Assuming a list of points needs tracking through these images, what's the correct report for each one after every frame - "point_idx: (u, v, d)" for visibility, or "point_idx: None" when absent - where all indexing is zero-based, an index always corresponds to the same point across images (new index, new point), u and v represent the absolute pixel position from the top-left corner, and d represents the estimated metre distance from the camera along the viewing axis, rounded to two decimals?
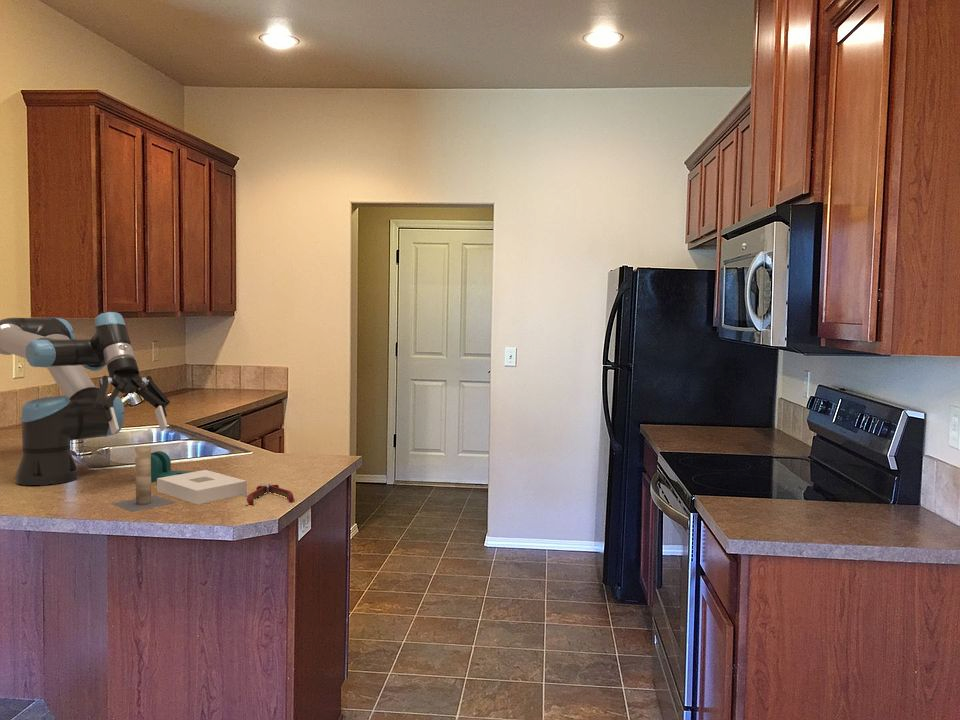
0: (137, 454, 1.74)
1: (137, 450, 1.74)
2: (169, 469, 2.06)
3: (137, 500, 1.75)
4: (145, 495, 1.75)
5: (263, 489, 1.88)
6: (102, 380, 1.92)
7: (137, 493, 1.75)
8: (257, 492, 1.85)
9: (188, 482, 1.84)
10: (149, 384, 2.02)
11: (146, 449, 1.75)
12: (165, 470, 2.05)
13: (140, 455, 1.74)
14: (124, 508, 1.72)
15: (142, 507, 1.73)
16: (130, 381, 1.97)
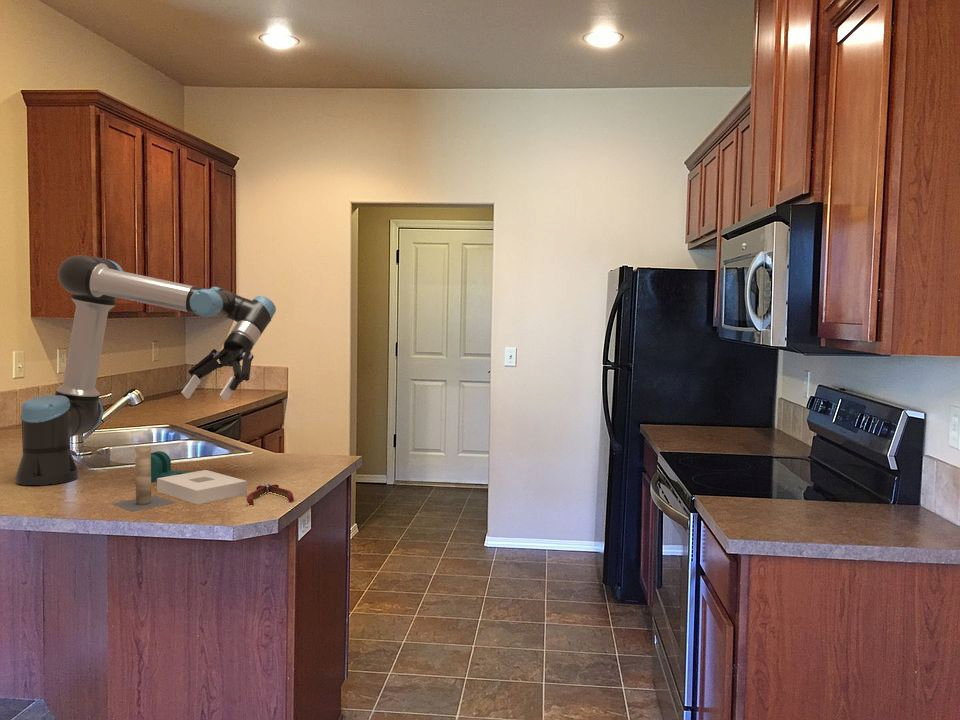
0: (137, 454, 1.74)
1: (137, 450, 1.74)
2: (169, 469, 2.06)
3: (137, 500, 1.75)
4: (145, 495, 1.75)
5: (263, 489, 1.89)
6: (251, 357, 2.00)
7: (137, 493, 1.75)
8: (257, 492, 1.85)
9: (188, 482, 1.84)
10: None
11: (146, 449, 1.75)
12: (165, 470, 2.05)
13: (140, 455, 1.74)
14: (124, 508, 1.72)
15: (142, 507, 1.73)
16: None
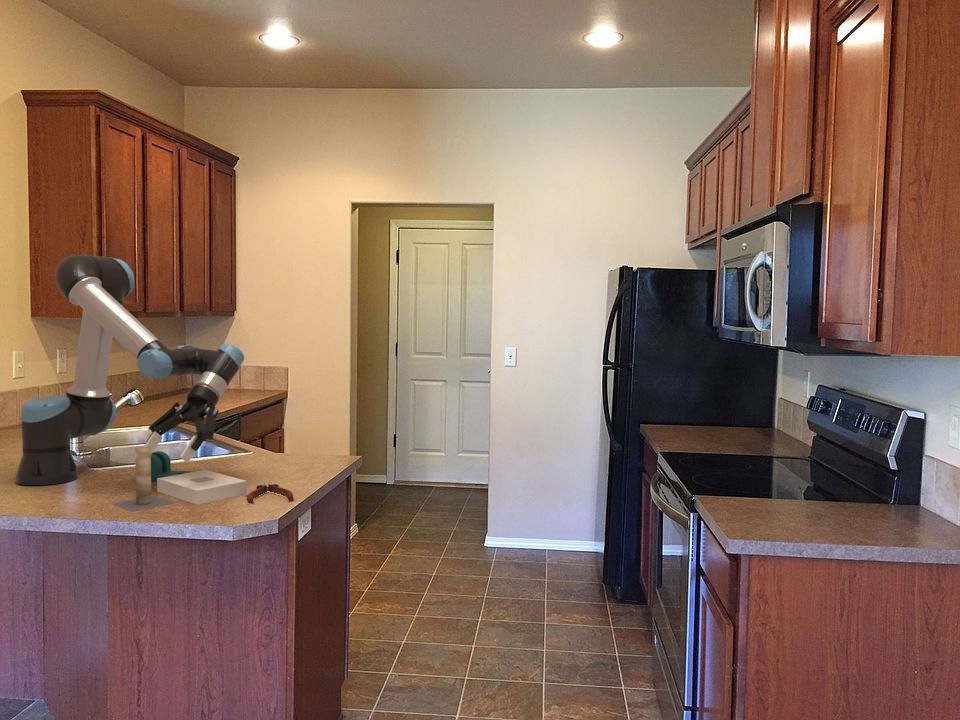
0: (137, 454, 1.74)
1: (137, 450, 1.74)
2: (169, 469, 2.06)
3: (137, 500, 1.75)
4: (145, 495, 1.75)
5: (263, 488, 1.89)
6: (216, 412, 1.87)
7: (137, 493, 1.75)
8: (257, 491, 1.86)
9: (188, 482, 1.84)
10: None
11: (146, 449, 1.75)
12: (165, 470, 2.05)
13: (140, 455, 1.74)
14: (124, 508, 1.72)
15: (142, 507, 1.73)
16: None
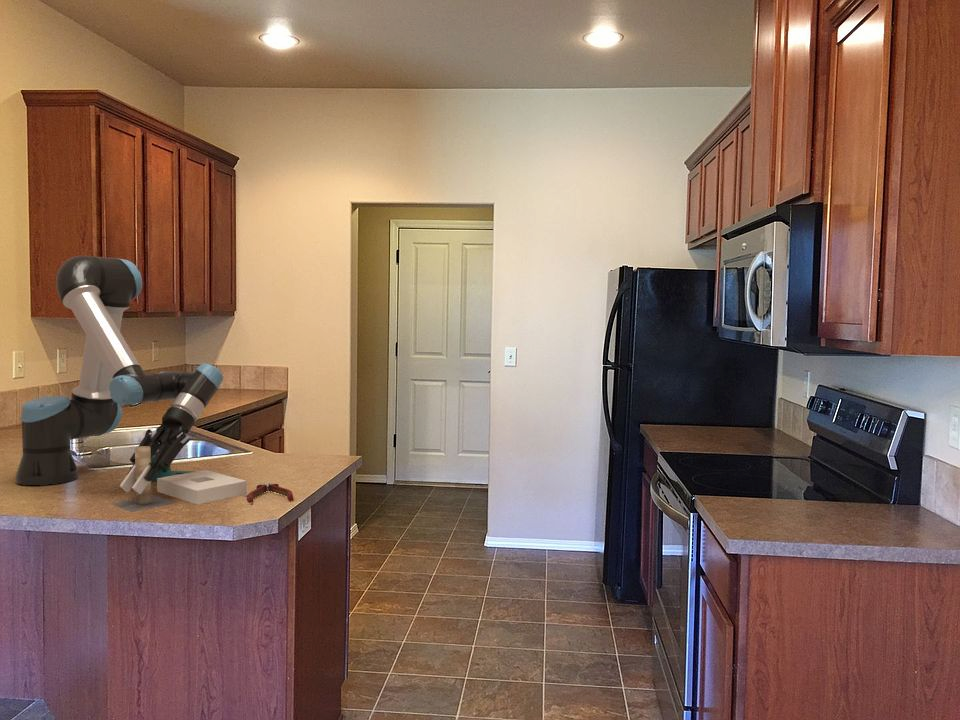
0: (137, 454, 1.74)
1: (137, 450, 1.74)
2: (169, 469, 2.06)
3: (137, 500, 1.75)
4: (145, 495, 1.75)
5: (263, 488, 1.90)
6: (185, 441, 1.80)
7: (137, 493, 1.75)
8: (257, 491, 1.86)
9: (188, 482, 1.84)
10: None
11: (146, 449, 1.75)
12: (165, 470, 2.05)
13: (140, 455, 1.74)
14: (124, 508, 1.72)
15: (142, 507, 1.73)
16: None
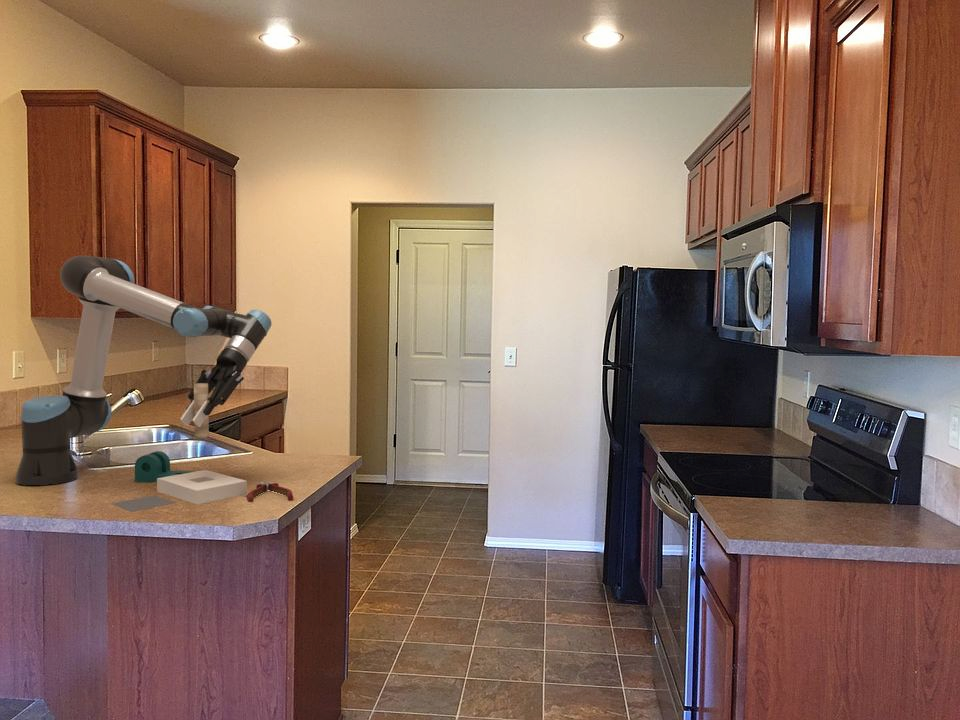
0: (196, 389, 1.85)
1: (196, 386, 1.85)
2: (168, 469, 2.06)
3: (196, 433, 1.85)
4: (203, 429, 1.86)
5: (263, 487, 1.90)
6: (240, 379, 1.91)
7: (196, 427, 1.85)
8: (257, 490, 1.87)
9: (188, 482, 1.84)
10: None
11: (204, 385, 1.85)
12: (164, 470, 2.05)
13: (199, 391, 1.85)
14: (124, 508, 1.72)
15: (142, 507, 1.73)
16: None
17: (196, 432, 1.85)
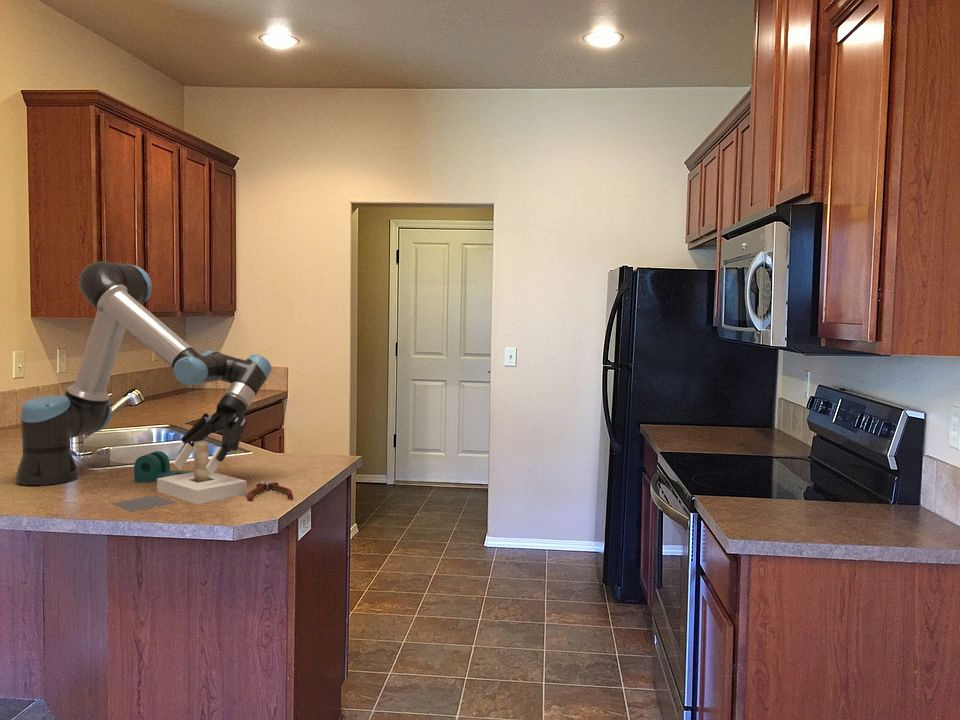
0: (196, 448, 1.86)
1: (196, 444, 1.86)
2: (168, 469, 2.06)
3: None
4: None
5: (263, 487, 1.91)
6: (244, 423, 1.92)
7: None
8: (257, 490, 1.87)
9: (188, 482, 1.84)
10: None
11: (204, 443, 1.86)
12: (164, 470, 2.05)
13: (199, 449, 1.86)
14: (124, 508, 1.72)
15: (142, 507, 1.73)
16: None
17: None
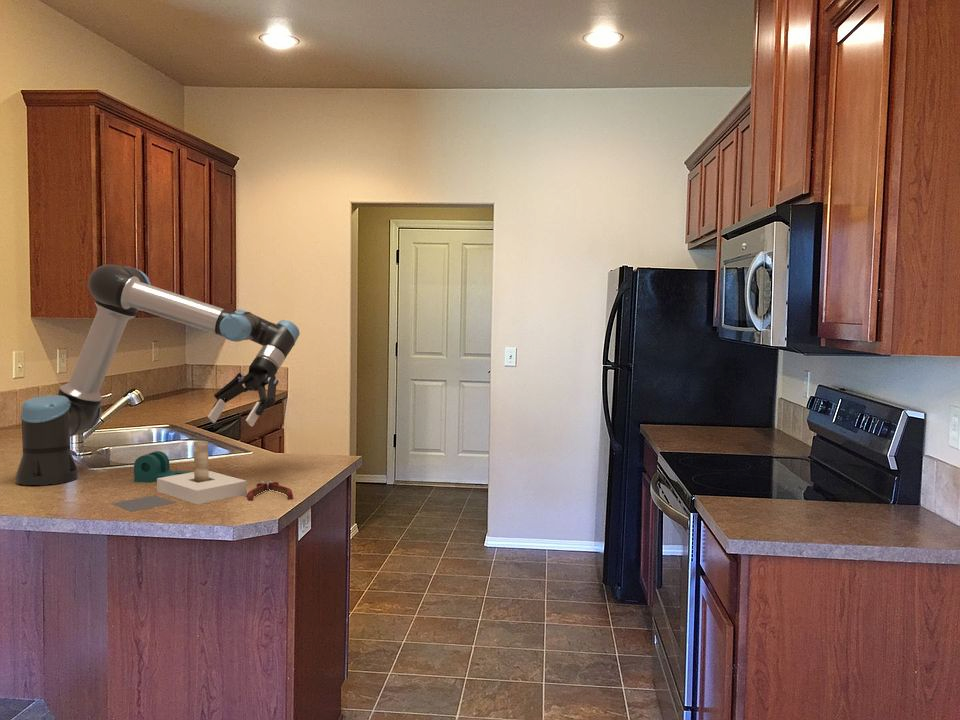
0: (196, 448, 1.86)
1: (196, 444, 1.86)
2: (168, 469, 2.06)
3: None
4: None
5: (263, 486, 1.91)
6: (276, 382, 2.03)
7: None
8: (257, 489, 1.88)
9: (188, 482, 1.84)
10: None
11: (204, 443, 1.86)
12: (164, 470, 2.05)
13: (199, 449, 1.86)
14: (124, 508, 1.72)
15: (142, 507, 1.73)
16: None
17: None
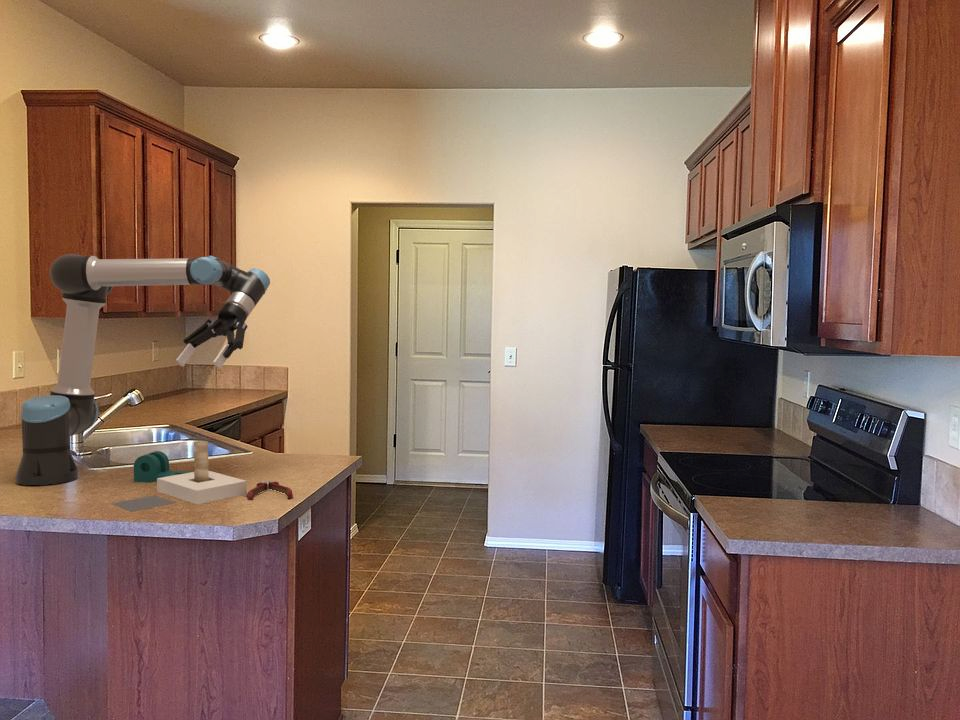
0: (196, 448, 1.86)
1: (196, 444, 1.86)
2: (167, 469, 2.06)
3: None
4: None
5: (263, 486, 1.92)
6: (245, 327, 2.04)
7: None
8: (257, 489, 1.88)
9: (188, 482, 1.84)
10: None
11: (204, 443, 1.86)
12: (163, 470, 2.05)
13: (198, 449, 1.86)
14: (124, 508, 1.72)
15: (142, 507, 1.73)
16: None
17: None
